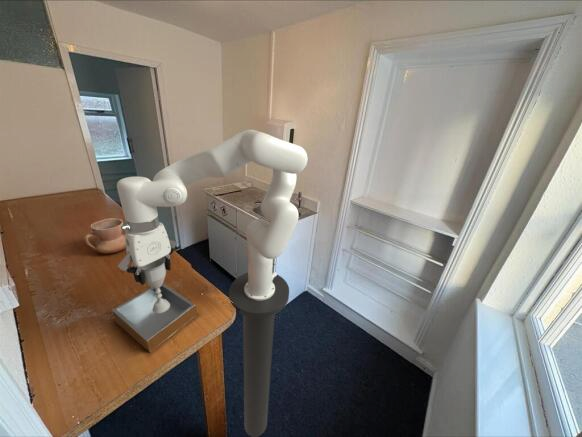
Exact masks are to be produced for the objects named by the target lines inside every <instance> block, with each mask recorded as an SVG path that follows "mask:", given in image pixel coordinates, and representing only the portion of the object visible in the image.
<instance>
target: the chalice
mask: <svg viewBox="0 0 582 437" xmlns="http://www.w3.org/2000/svg"><path fill="white" fill-rule="evenodd" d="M164 262H165V257H162V258H160V259H158V260H156V261H154V262H152V263H150V264H148V265H145V266H143V267H142V269H141V272H142V273H143V276H144V280H145V284H146V285H147V286H149V287H150V288H153V289H156V291H155V293H156V294H157V295H156V298H158V300H157V301H156V302H155V303H154V306H153V312H155V313H162V312H165V311H166V310H168V309H169V307H170V303H169V302H168V301H167V300H166V299H162V298H161V296H162V294H161V293H160V292H161V290H160V289H159V287H161V285H162V283H163V284H164V281H165V279H166V275H167V269H165V264H164Z"/></svg>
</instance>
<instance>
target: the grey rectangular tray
mask: <svg viewBox="0 0 582 437" xmlns="http://www.w3.org/2000/svg"><path fill="white" fill-rule="evenodd" d="M159 289H160V290H161V292H160V293H161V294H162V296H161V298H162V299H166V300H167V301H168V302H169V303H170V307H169V309H168V310H166V311H165V312H162V313H155V312H153V306H154V303H155V302H156V301H157V300H158V298H156V295H157V294H156V293H155V291H156V289H153V288H151V287H150V288H148V289H146V290H144V291H142V292H141V293H139V294H137V295H135V296H134V297H132V298H130V299H128V300H127V301H125V302H123V303H121V304H120V305H118V306H116V307H115V308H113V309H112V310H111V312H112V316H113V318H114V321H115V322H116V323H117V324H118V325H119V326H120V327H121V328H122V329H123V330H125V332H127V334H129V335H130V336H131V337H132V338H133V339H134V340H135V341H137V342H138V343H139V344H140V345H141V346H142V347H143V348H144V350H147V352H149V353H152V352H154V350H156V349H157V348H158V347H159V346H161V345H162V344H163V343H164V342H166V341H167V340H169V338H171V337H172V336H173V335H175V334H176V333H177V332H178V331H180V330H181V329H182V328H183V327H185V325H188V323H189V322H191V321H192V320H193V319H194V318H196V317H198V313H197V307H196V304H195V303H193V302H192V301H190V300H189V299H188V298H186V297H184V296H183V295H182V294H180V293H178V292H177V291H176V290H174V289H173V288H171V287H169V286H168V285H166V284H165V283H164V282H163V283H162V285H161V287H159Z"/></svg>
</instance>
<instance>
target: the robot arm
mask: <svg viewBox="0 0 582 437" xmlns="http://www.w3.org/2000/svg"><path fill="white" fill-rule="evenodd" d="M308 160H309V159H308V154H307V151H306V150H305V149H304V148H303V147H302V146H300V145H297V144H295V143H292V142H289V141H286V140H283V139H281V138H277V137H275V136H272V135H271V134H268V133H265V132H262V131H259V130H255V129H245V130H242V131H241V132H239V133H236V134H235V135H233V136H231V137H230V138H228V139H226V140H224V141H222V142H219V143H218V144H216V145H214V146H213V147H210V148H209V149H207V150H204V151H200V152H198V153H195V154H192V155H190V156H187V157H184V158H182V159H179V160H178V161H175V162H173V163H172V164H170V165H168V166H166V167H164V168H162V169H160V170H159V171H157V173H156V174H155V175H154V177H153V179H152V180H150V178H148V177H145V176H137V175H136V176H128V177H124V178H121V179H119V180H118V181H117V183H116V189H117V193H118V198H119V201H120V205H121V209H122V213H123V216H124V223H123V226H121V229H122V232H124V233H125V234H124V235H125V244H126V248H125V250H126V251H125V252H126V255H125V257H124V258H123V259H122V260H121V261H120V263H119V264H118V265H117V268H118V269H119V270H121V271H123V272H127V273H129V274H133V278H134V281H135V282H136V283H139V284H140V285H143V286H144V285H145V284H146V282H145V280H144V276H143V273H142V272H141V269H142V267H143V266H145V265H148V264H150V263H152V262H154V261H156V260H158V259H160V258H162V257H165V262H164V264H165V270H166V271H171V269H172V267H171V265H172V264H171V258H172V255H173V253H174V251H175V248H176V246H177V243H178V242H177V241H175V240H172V239H170V238H169V235H168V232H167V230H166V227H165V225H164V223H163V222H160V218H159V212H158V207H160V208H162V207H163V208H173V207H179V206H181V205H183V204H184V203H185V202H186V200H187V199H188V190H187V187H186V186H188V185H190V184H192V183H194V182H197V181H199V180H202V179H207V178H212V179H213V178H214V179H215V178H216V179H218V178H219V179H220V178H225V177H227V176H229V175H230V174H232V173H235V171H237V170H239V169H241V168H242V167H244V166H246V165H247V164H249V163H251V162H252V163H254V164H256V165H258V166H261V167H264V168H268V169H271V170H272V178H271V181H270V183H269V186H268V188H267V191H266V192H265V195H264V197H263V200H262V202H261V204H260V213H261V214H262V215H263V217H264V218H265V219H263V218H256V219H254V220H252V221H250V222H249V224H248V225H247V227H246V231H245V237H246V243H247V252H248V253H247V256H248V258H247V273H248V282H247V283H246V285H245V287H244V292H245V294H246V296H247V297H248V298H250V299H252V300H256V301H262V300H266V299H268V298H270V297H271V296H272V295H273V294H274V292H275V285H274V283H273V282H272V280H273V278H274V277H276V276H277V275H278V274H277V272H276V271H273V265H274V263H273V262H274V260H275V259H276V258H278V257H280V256H281V255H282V254H283V253H284V251H285V250H286V248H287V247H288V244H289V242H290V240H291V238H292V235H293V234H294V232H295V230H296V228H297V225H298V222H299V217H300V216H299V210H298V208H297V207H296V205H294V203H292V202H291V198H292V196H293V194H294V192H295V188H296V185H297V177H298V176H297V174H299V173H301V172H302V171H303V170H305V168H306V167H307V165H308ZM130 263H131V266H129V264H130Z"/></svg>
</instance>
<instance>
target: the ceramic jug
mask: <svg viewBox="0 0 582 437" xmlns="http://www.w3.org/2000/svg"><path fill="white" fill-rule="evenodd" d="M116 225H117V226H116ZM123 225H124V221H123V220H122V219H121V218H116V217H114V218H113V217H112V218H104V219H102V220H98V221H95V222H93V223H91V225H90V229H91V231H92V232H90V233H87V234H86V235H85V236H84V242H85V244H86V246H88V247H90V248H92V250H93V251H95V252H96V253H98V254H102V255H110V254H117V253H120V252H122V251H124V250H126V244H125V234H123V231H122V229H121V226H123ZM90 238H98V239H97V240H96V241H95V243H94V244H92V243H91V242H90V240H89V239H90Z"/></svg>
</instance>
